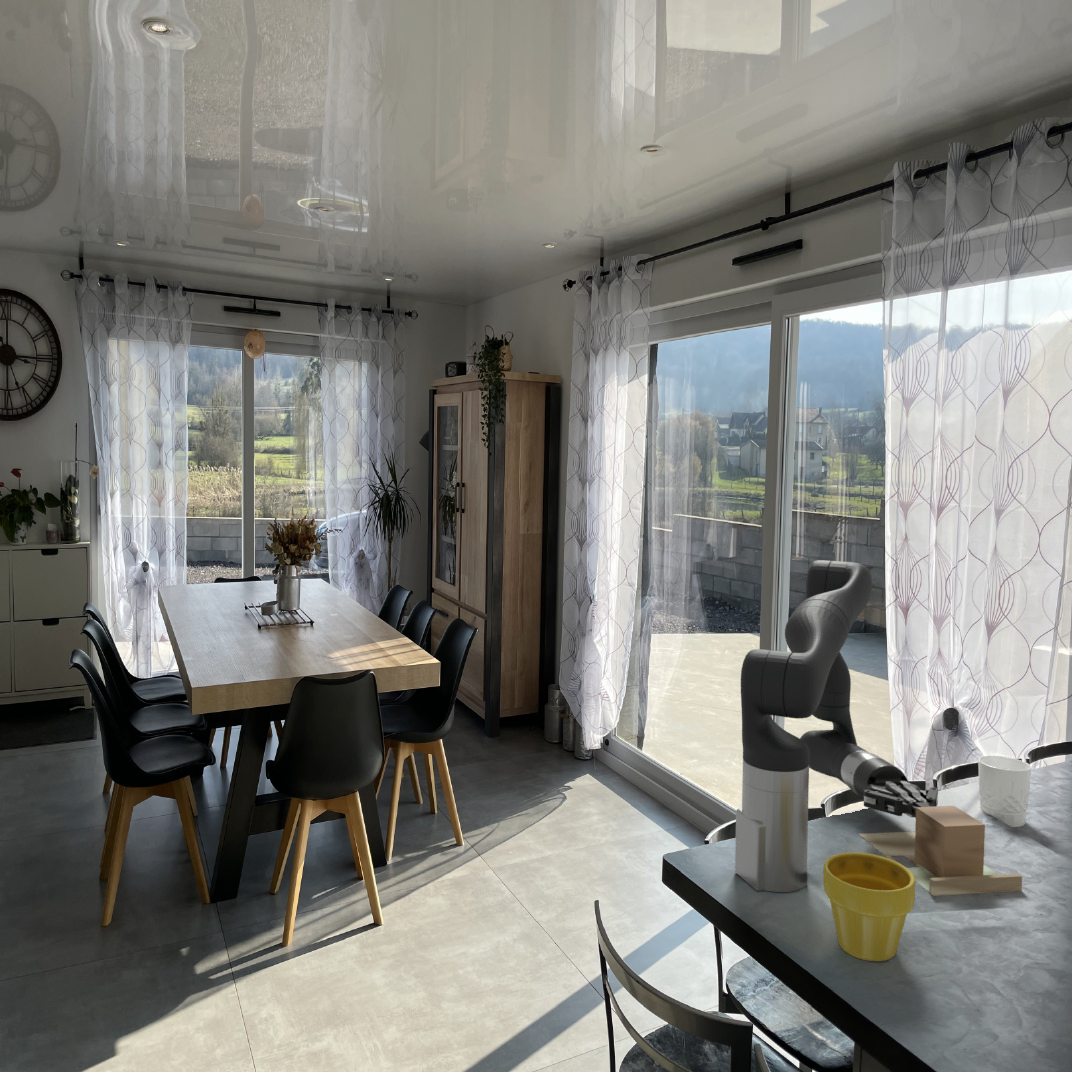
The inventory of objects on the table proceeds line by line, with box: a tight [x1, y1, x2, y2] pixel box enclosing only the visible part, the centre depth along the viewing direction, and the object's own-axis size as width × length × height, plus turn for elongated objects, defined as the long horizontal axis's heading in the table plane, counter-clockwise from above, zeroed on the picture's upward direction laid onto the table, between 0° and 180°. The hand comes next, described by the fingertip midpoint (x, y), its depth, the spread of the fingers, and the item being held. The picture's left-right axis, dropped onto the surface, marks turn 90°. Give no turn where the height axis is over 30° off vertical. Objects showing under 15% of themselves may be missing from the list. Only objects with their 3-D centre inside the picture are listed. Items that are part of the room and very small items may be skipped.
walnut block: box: [915, 805, 986, 878], centre depth 117 cm, size 7×6×8 cm
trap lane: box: [858, 831, 1023, 897], centre depth 120 cm, size 20×13×4 cm, turn 6°
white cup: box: [977, 755, 1032, 828], centre depth 139 cm, size 8×8×10 cm
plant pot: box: [822, 851, 916, 962], centre depth 100 cm, size 10×10×10 cm
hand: (933, 819), depth 120 cm, fingers closed
